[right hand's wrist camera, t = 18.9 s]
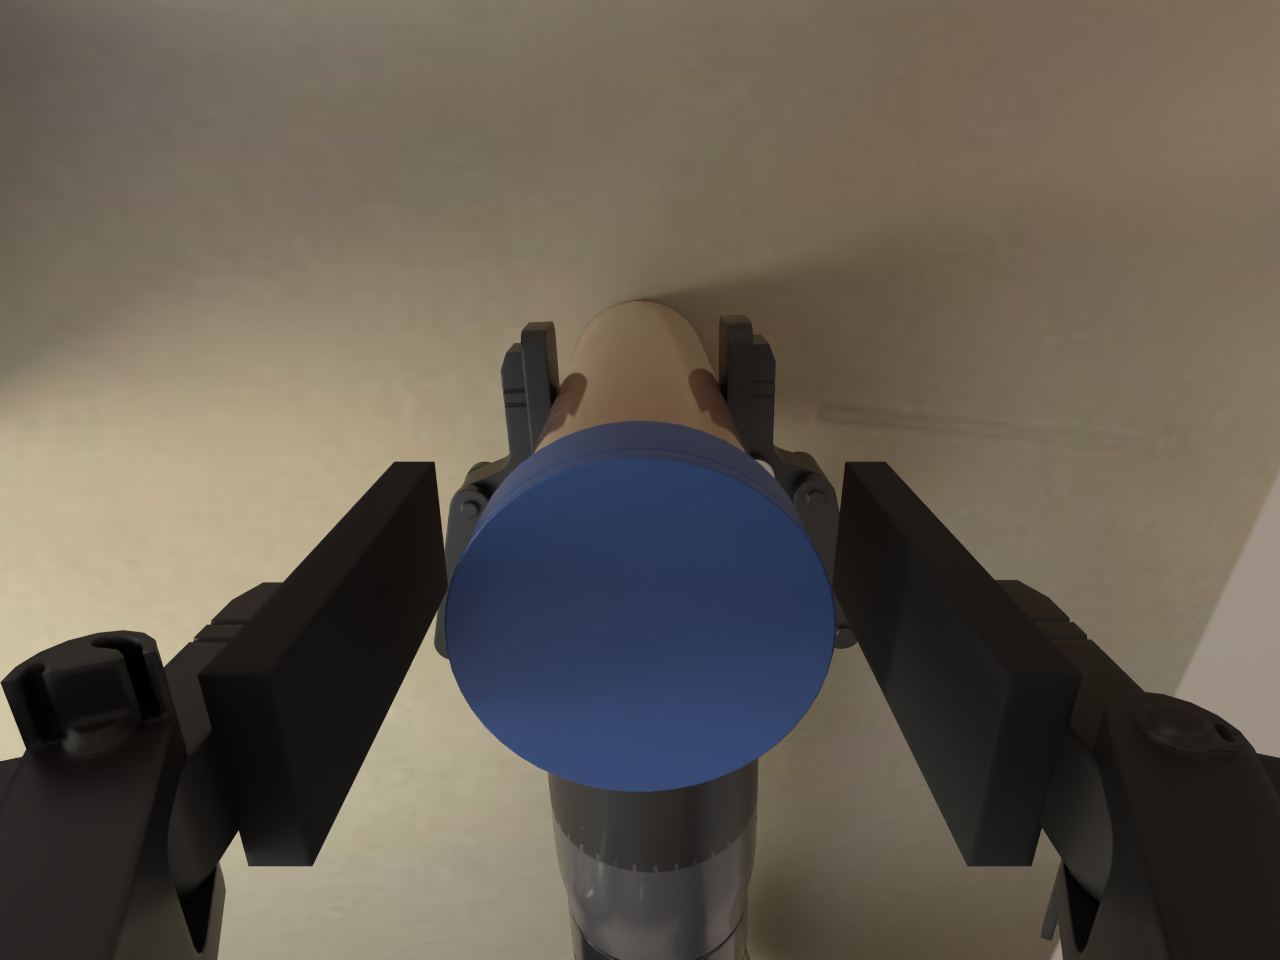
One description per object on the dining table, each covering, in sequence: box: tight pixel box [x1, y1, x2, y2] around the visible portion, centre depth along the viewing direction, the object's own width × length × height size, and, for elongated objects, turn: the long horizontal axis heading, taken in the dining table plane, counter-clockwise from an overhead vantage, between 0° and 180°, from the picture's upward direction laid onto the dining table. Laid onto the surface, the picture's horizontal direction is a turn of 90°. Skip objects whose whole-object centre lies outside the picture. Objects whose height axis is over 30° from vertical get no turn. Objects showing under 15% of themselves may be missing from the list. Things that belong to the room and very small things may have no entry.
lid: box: [444, 421, 836, 792], centre depth 11 cm, size 6×6×2 cm
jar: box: [532, 301, 748, 455], centre depth 19 cm, size 5×5×17 cm
